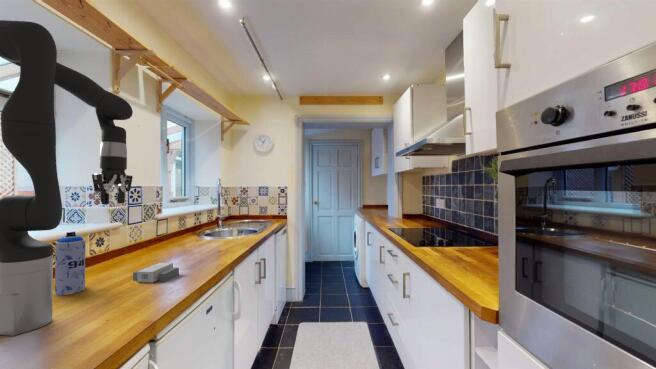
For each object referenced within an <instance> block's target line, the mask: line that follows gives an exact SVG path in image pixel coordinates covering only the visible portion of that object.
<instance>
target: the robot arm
mask: <svg viewBox="0 0 656 369" xmlns="http://www.w3.org/2000/svg"><path fill="white" fill-rule="evenodd" d="M57 52H58V51H57V45H56V42H55V39H54V37H53V35H52V34H51V32H50V31H49V30H48V29H47V28H46V27H44V25H41V23H37V22H34V21H25V20H24V21H23V20H5V19H4V20H1V19H0V58H2V59H4V60H6V62H10V63H11V64H12V65H15V66H17V67H19V77H18V78H19V79H18V81H17V85H16V86H15V87H14V90H13V91H12V93H11V94H10V95H9V97H8V98H7V100H6V102H5V103H4V105H3V108H2V110H1V113H0V130H1V131H0V132H1V133H0V135H1V141H2V143H3V145H4V147H5V148H6V149H7V151H8V152H9V153H10V154H11V155H12V157H13V158H14V159H15V160H16V161H17V162H18V163H19V164H20V165H21V166H22V167H23V169H25V171H26V172H27V173H28V175H29V177H30V180H31V182H32V185H33V186H32V187H33V191H34V194H11V195H6V196H3V197H1V198H0V336H11V337H14V336H17V335H19V334H23V333H26V332H27V333H28V332H31V331H34V330H37V329H39V328H40V329H41V327H44V326H46V325H48V324H50V323H51V322H52V321H53V294H54V293H53V292H54V291H53V290H54V288H53V285H54V284H53V280H54V279H53V277H54V276H53V275H54V269H53V268H54V247H53V246H54V245H52V243H49V242H44V241H40V240H38V239H36V238H33V237H32V236H31V235H30V234H29V232H37V231H38V232H41V231H42V232H43V231H52V230H55V229H56V228H58V227H59V225H60V223H61V221H62V217H63V203H62V196H61V189H60V188H61V187H60V183H59V177H58V169H57V168H58V167H57V131H56V130H57V129H56V119H55V86H58V87H59V88H61V89H63V90H64V91H66V92H68V93H70V94H71V95H73V96H74V97H76V98H77V99H79V100H80V101H82V102H83V103H85V104H86V105H88V106H90V107H92V108H94V110H95V111H94V112H95V115H96V118H97V123H98V126H99V128H100V132H101V135H100V138H101V139H100V146H99V169H101V171H100V173H92V174H91V178H92V184H93V190H94V191H95V192H97V193H100V203H101V204H102V205H109V204H110V191H111V188H112V187H113V186H114V187H115V189H116V191H117V194H116V197H117V199H116V202H117V204H124V203H125V201H126V193H127V192H130V191H131V188H132V183H133V175H130V174H129V175H127V174H126V170H127V169H128V149H127V130H126V129H125V128H124V127H121V126H117V125H116V124H115V121H127V120H129V119H130V118H131V117H132V116H133V107H132V105H130V103H129V102H128V100H125V99H124V98H123V97H120V96H118V95H117V94H114V93H113V92H110V91H108V90H106V89H104V88H103V87H102V86H101V85H99V84H98V83H97V82H96V81H94V80H93V79H92V78H90V77H88V76H87V75H85V74H83V73H81V72H79V71H77V70H75V69H73V68H70V67H68V66H66V65H63V64H62V63H59V62H58V61H57V58H58V56H57V55H58V53H57Z"/></svg>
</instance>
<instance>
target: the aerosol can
mask: <svg viewBox="0 0 656 369" xmlns="http://www.w3.org/2000/svg"><path fill="white" fill-rule="evenodd" d="M57 240H58V241H56V243H55V245H54V246H55V252H54V253H55V255H54V257H55V260H54V261H55V262H54V268H55V269H54V270H55V271H54V291H53V292H54V293H53V294H54V295H55V296H66V295H67V296H68V295H72V294H76V293H79V292H83V291H84V290H86V289H85V288H87V287H86V240H85V238H84V237H82V236H80V235H79V234H77V233H76V231H69V232H66V234H65V236H63V237H61V238H59V239H57ZM82 290H83V291H82Z"/></svg>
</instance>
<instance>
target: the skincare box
mask: <svg viewBox="0 0 656 369" xmlns="http://www.w3.org/2000/svg"><path fill="white" fill-rule="evenodd" d="M149 266H150V267H149ZM149 266H147V267H148V268H147V267H145V269H144V268H142V269H143V270H141V269H139V270H140V271H138V270H137V271H138V272H137V283H148V284H149V283H151V284H152V283H155V282H157V281H160V273H162V272H165V271H167V270H169V269H172V268H174V263H173V262H158V263H156V264H154V265H149Z"/></svg>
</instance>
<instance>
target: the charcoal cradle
mask: <svg viewBox="0 0 656 369" xmlns="http://www.w3.org/2000/svg"><path fill="white" fill-rule="evenodd" d="M150 266H151V265H149V266H147V267H145V268H148V267H150ZM145 268H141V269H139V270H136V271H133V272H132V281H137V272H138V271H140V270H143V269H145ZM179 273H180V268H179V267H174V266H173V268H172V269H169V270H167V271H165V272H162V273H160V279H159V283H165V282H168V281H170V280H171V279H173V278H176V277H178V276H179V275H180V274H179Z"/></svg>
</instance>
